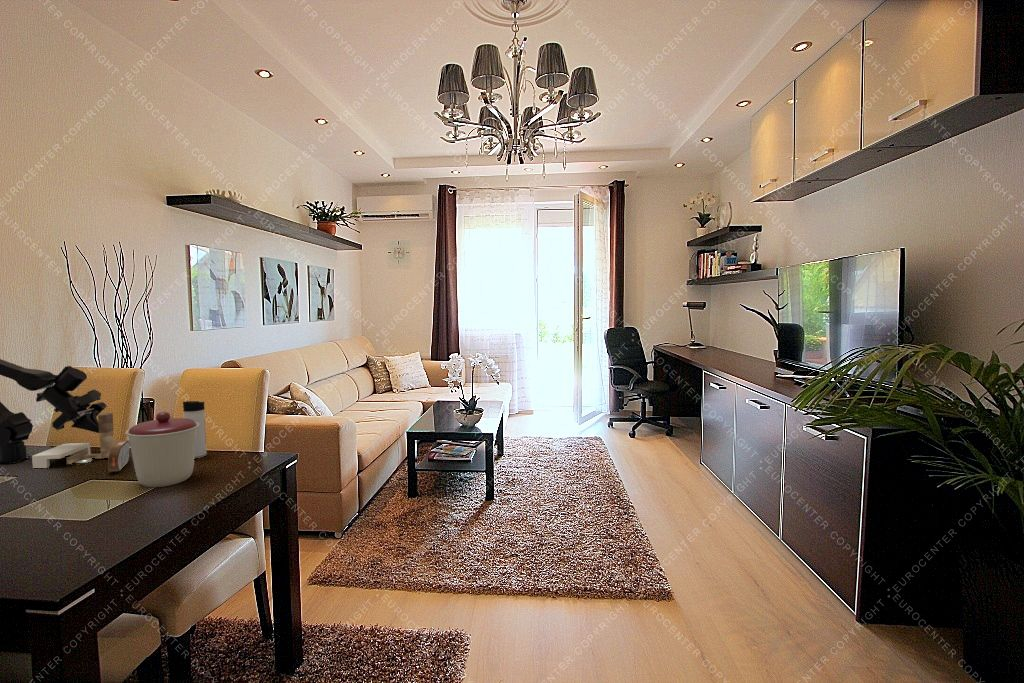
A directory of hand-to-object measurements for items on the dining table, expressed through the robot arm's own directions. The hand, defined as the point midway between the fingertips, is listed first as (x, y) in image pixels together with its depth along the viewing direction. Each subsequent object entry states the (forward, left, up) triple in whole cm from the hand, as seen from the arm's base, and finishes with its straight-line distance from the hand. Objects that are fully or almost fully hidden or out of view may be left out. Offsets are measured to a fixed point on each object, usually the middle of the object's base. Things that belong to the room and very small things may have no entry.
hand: (101, 432), depth 171 cm
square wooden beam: (-2, -3, -9) cm, 9 cm away
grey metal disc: (-3, -5, -9) cm, 11 cm away
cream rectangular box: (-11, -3, -9) cm, 14 cm away
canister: (+33, -27, -9) cm, 43 cm away
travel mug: (+31, -3, -9) cm, 32 cm away
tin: (+12, -12, -9) cm, 19 cm away
